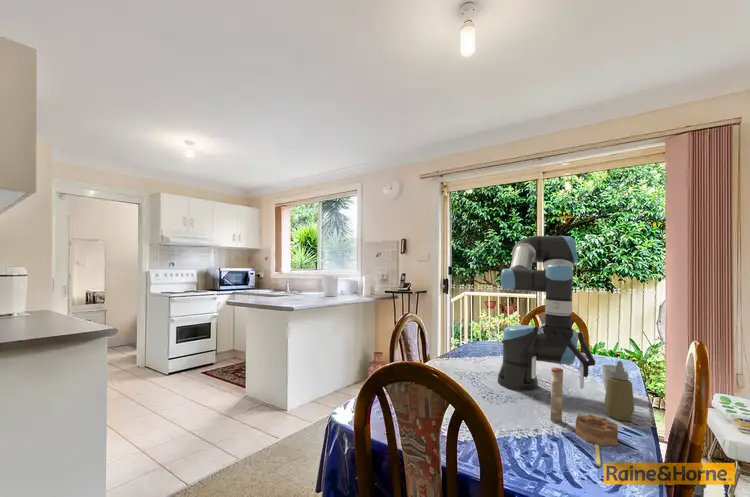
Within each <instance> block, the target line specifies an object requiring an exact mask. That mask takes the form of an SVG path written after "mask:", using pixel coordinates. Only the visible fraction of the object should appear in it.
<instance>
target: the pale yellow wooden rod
mask: <svg viewBox="0 0 750 497" xmlns="http://www.w3.org/2000/svg"><path fill="white" fill-rule="evenodd" d="M594 452H595V465H596V467H599V468H600V467H601V453H600V445H599V444H595V443H594Z"/></svg>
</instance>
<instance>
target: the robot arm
mask: <svg viewBox="0 0 750 497" xmlns="http://www.w3.org/2000/svg"><path fill="white" fill-rule="evenodd" d="M577 253H578V252H577V244H576V241H575V239H574V237H572V236H566V235H565V236H564V235H532V236H528V237H526V238H523V239H521V240H520V241H517V243H516V244H515V245H514V246H513V248H512V251H511V256H512V259H511V263H510V266H509V268H503V269H502V270H501V274H500V286H501V288H502V289H503V290H507V291H508V290H510V291H519V292H520V291H521V292H524V291H525V292H535V293H536V292H538V293H545V303H544V304H545V305H544V306H545V307H544V309H545V310H544V311H545V312H544V314H545V315H544V323H543V324H542V325H541V326H537V325H536V326H534V325H528V324H526V325H525V324H517V325H510V326H507V327H505V328H504V329H503V337H502V347H503V348H502V364H501V366H500V370H499V372H498V374H497V383H498V384H499V385H501V386H503V387H504V388H508V389H512V390H515V391H522V392H523V391H525V392H528V391H529V392H530V391H531V392H532V391H536V390H538V389H539V379H538V376H537V361H538V362H544V363H550V364H558V365H566V366H567V365H568V366H571V365H573V364H574V363H575V360H576V358H577V359H578V361H580V363H581V364H580V368H579V370H580V372H579V374H580V376H579V380H580V381H579V389H584V387H585V378H588V377H589V367H591V366H595V365H596V360H595V358H594V356H593V354H592V352H591V351H590V350H591V349H590V348H589V346H588V344H587V342H586V340H585V336H584V332H583V331H579V332H577V331H574V330H575V329H574V328H573V326H572V324H573V317H572V316H571V314H573V280H574V273H573V267H574V264H576V263H577V262H578V255H577ZM533 263H542V267H543V268H544V269H545V270H544V269H541V270H540V269H532V267H533ZM578 342H579V344H580V346H581V348H582V350H583V352H584V354H585V356H586V358H587V359H586V358H585V356H584V354H582V352H580V350H579V349H578V348H577V347H578Z"/></svg>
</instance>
